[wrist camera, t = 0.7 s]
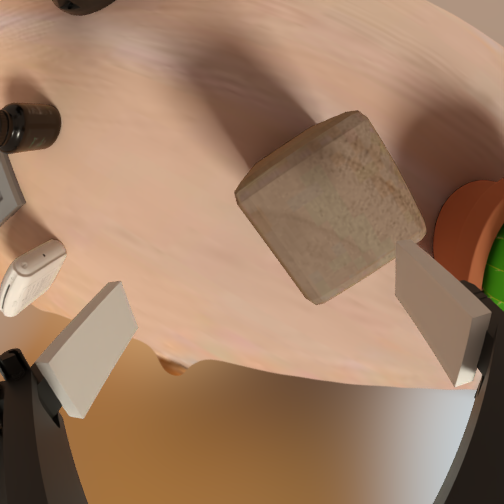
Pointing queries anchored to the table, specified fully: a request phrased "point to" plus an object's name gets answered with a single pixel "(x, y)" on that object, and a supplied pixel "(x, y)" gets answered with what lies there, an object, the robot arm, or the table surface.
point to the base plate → (8, 190)
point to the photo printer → (30, 276)
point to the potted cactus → (474, 237)
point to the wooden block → (331, 205)
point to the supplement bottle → (28, 127)
